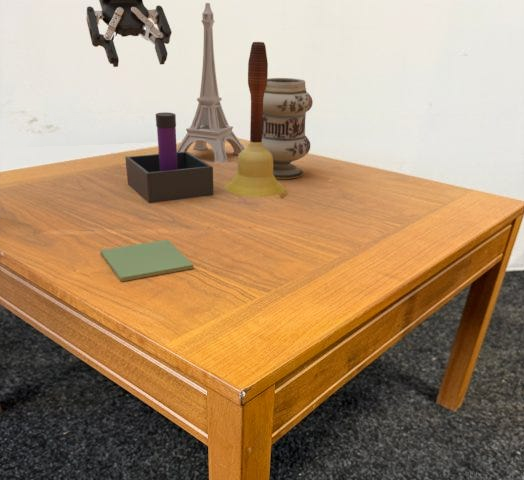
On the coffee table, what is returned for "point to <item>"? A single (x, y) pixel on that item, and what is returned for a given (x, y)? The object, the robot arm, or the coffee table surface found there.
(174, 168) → the marker
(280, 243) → the coffee table surface
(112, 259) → the mat
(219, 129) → the eiffel tower
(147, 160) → the bin
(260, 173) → the handbell
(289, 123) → the apothecary jar
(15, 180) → the coffee table surface
